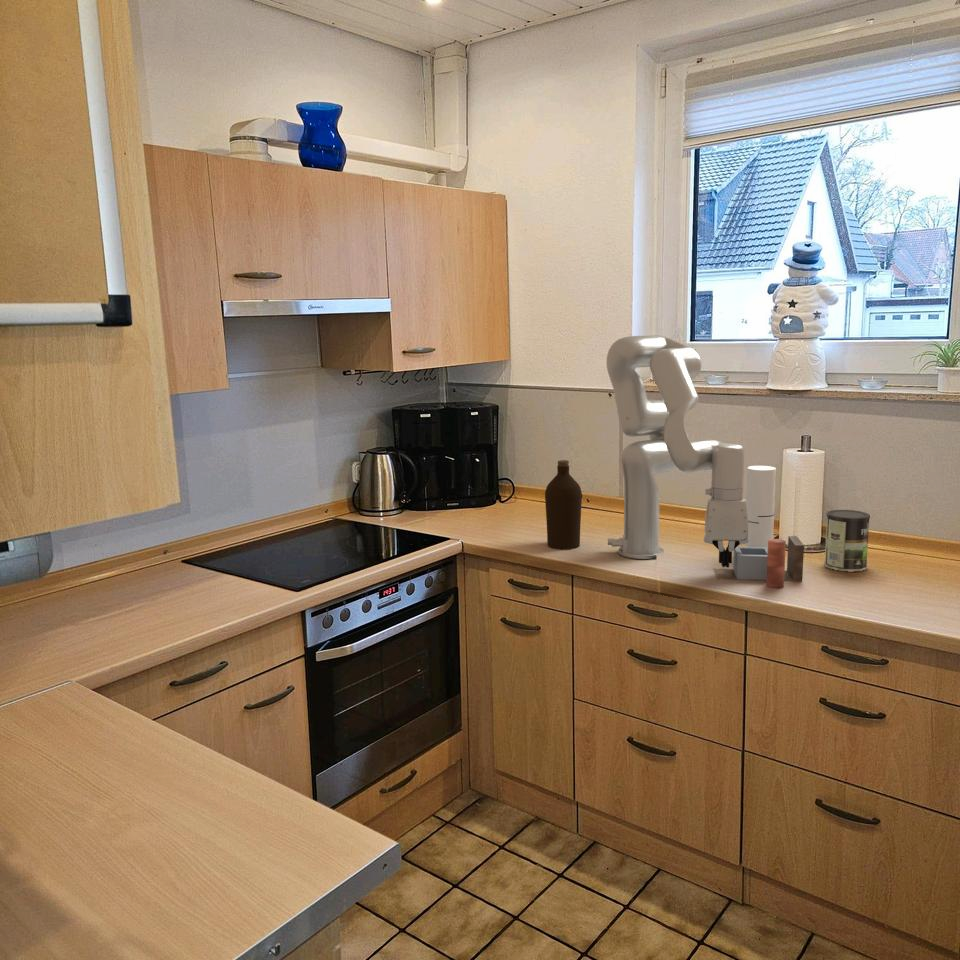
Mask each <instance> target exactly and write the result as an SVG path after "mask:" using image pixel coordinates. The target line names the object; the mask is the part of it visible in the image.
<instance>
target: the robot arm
mask: <svg viewBox="0 0 960 960" xmlns="http://www.w3.org/2000/svg"><path fill="white" fill-rule="evenodd" d="M637 368H649V369H650V373H651V374H652V377H653V379H654V382H655V384H656V387H657V390H658V392H659V394H660V396H661V400H658V399H656V400H654V399H653V400H649V399H648V395H647V392H646V391H647V390H646V385H645V383H644V381H643V379H642V378H641V376H640V374H638V372H637V371H636V369H637ZM606 369H607V373H608V376H609V380H610V382H611V386H612V389H613V394H614V399H615V406H616V411H617V415H618V416H617V417H618V422H619V426H620V429H621V432H622V433H623V435H625V436H626V437H632V438H636V437H644V436H649V439H647V440H646V439H645V440H641V441H640V440H639V441H634V442H632V443H630V444H627V445H626V446H625V447H624V448H623V449H622V451H621V455H620V465H621V470H622V475H623V476H622V477H623V491H624V492H623V500H624V501H623V505H624V506H623V514H624V515H623V535H622V537H618V538H610V537H609V538H607V545H608V546H611V547H613V548H614V547H618V549H617V552H618V554H619V555H620V556H622V557H624V558H629V559H638V560H650V559H651V560H652V559H657V556H659V555H662V554H663V553H664V552H665V549H664V548H663V547H661V546H659V538H660V537H659V535H660V534H659V533H660V488H659V485H658V483H657V481H656V479H655V477H654V475H658V474H664V473H668V472H672V471H674V470H676V468H677V469H678V470H679V471H681V472H683V473H687V474H688V473H695V472H696V473H697V472H702V471H709V470H711V486H710V488H706V489H705V491H704V492H705V495H708V496H710V498H708V500H707V505H706V510H705V520H704V532H705V533H704V537H703V542H704V543H706V544H709V545H713V546H714V547H715V548H716V549H717V550H718V564H721V567H722V568H725V567H726V568H730V564H732V562H733V552H734V549H735V548H736V547H739V546H740V545H745V544H747V543H748V509H747V503H746V499H745V498H744V497H743V496H744V474H745V473H744V471H745V470H744V468H745V449H744V447H743V446H742V445H741V444H737V443H725V442H722V441H720V440H715V439H706V440H704V439H703V440H695V441H691V440H690V438H689V436H688V433H687V430H686V426H685V425H686V417H687V414H688V413H689V412H690V411H691V410H693V409H694V408H695V407H696V406H697V405H698V404H699V401H700V399H699V395H698V392H697V390H696V388H695V386H694V383H693V381H692V379H695V378H696V377H697V376H699V374H700V373H701V369H702V361H701V357H700V355H699V353H697V351H696V350H695V349H693V348H692V347H690V346H688V345H685V344H684V343H681V342H679V341H676V340H675V339H672V338H669V337H667V336H663V335H656V334H655V335H634V336H633V335H632V336H631V335H630V336H624V337H621V338H618V339H617V340H616V341H614V342H612V344H611V346H610V348H609V349H608V351H607V355H606ZM724 541H725V542H726V541H727V546H726V548H725V547H724Z"/></svg>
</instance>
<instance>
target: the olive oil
mask: <svg viewBox="0 0 960 960" xmlns="http://www.w3.org/2000/svg"><path fill="white" fill-rule="evenodd" d="M556 468H557V473H556V475H555V476H554V478H553V479H551V480H550V482H549V483H548V484H547V486H546V487H545V492H544V500H545V502H544V504H545V518H546V519H545V520H546V538H547V540H546V541H547V543H546V545H547V546H548V547H549V548H550V547H551V548H550V549H554V548H555V550H573V549H572V548H574V549H576V548H579V547H580V546H581V523H582V522H581V521H582V520H581V519H582V517H581V516H582V500H583V493H582V489H581V486H580V484H579V483H578V482H577V481H576V480H575V479H574V478H573V476H572V475H571V474H570V462H569V460H565V459H561V460H558V461H557V466H556Z"/></svg>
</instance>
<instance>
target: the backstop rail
mask: <svg viewBox="0 0 960 960" xmlns="http://www.w3.org/2000/svg"><path fill="white" fill-rule="evenodd" d="M787 538H788V539H787V540H788V541H787V559H786V560H787V561H786V569H785V571H784V582H798V583H799V582H801V583H802V582H803V575H804V572H803V571H804V556H805V555H804V554H805V553H804V552H805V545H804V544H803V542H802V541H801V540H800V538H799V537H798V536H797V535H788V536H787ZM713 571H714V574H715V577H716V580H725V581H726V580H730V581H731V580H733V581H744V580H743V579H737V577H736V575H735V573H734V570H733V568H713ZM762 581H766V580H761V582H762Z"/></svg>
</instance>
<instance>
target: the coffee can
mask: <svg viewBox="0 0 960 960" xmlns="http://www.w3.org/2000/svg"><path fill="white" fill-rule="evenodd" d="M870 518H871V514H869V513H867V512H864V511H860V510H853V509H834V510H833V509H832V510H829V511H826V528H825V529H826V531H825V549H824V550H825V551H824V563H823V564H824V567H825V568H827V567H828V568H827V569H829V568H830V570H832V569H834V570H833V571H837V570H839V571H838V572H844V571H848V572H847V573H855V572H854V571H860V572H863V570H864V571H866V570H867V568H868V567H867V564H868V548H869V547H868V545H869V531H870V528H869V527H870Z"/></svg>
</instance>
